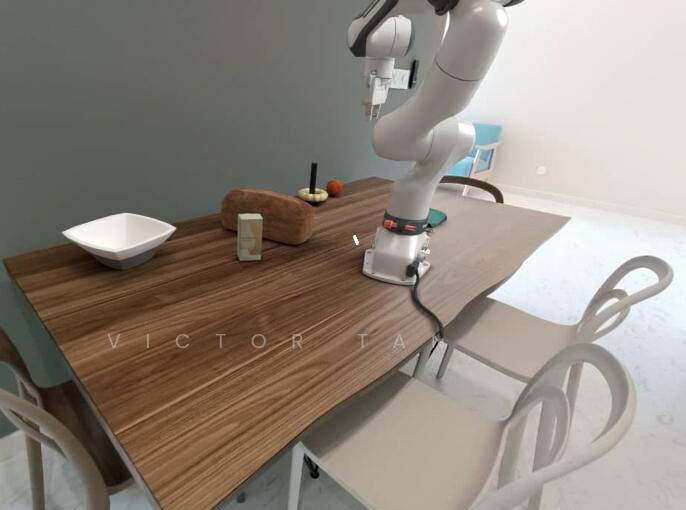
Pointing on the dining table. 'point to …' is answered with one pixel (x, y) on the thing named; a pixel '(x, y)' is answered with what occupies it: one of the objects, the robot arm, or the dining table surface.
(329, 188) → the fruit
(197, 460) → the dining table surface
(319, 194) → the pale yellow segmented ring
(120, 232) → the bowl
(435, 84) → the robot arm
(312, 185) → the peg stand
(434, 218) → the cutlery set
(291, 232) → the bread
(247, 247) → the cosmetic box
